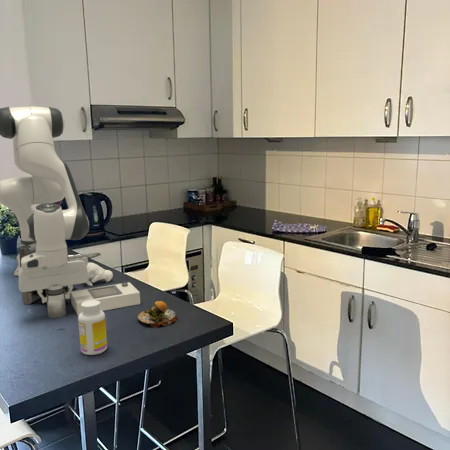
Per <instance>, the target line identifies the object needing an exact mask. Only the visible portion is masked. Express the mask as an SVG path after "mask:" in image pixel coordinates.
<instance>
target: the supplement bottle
mask: <svg viewBox="0 0 450 450" xmlns="http://www.w3.org/2000/svg"><path fill="white" fill-rule="evenodd" d="M81 309H82V313H80V314H79V315H77V316H78V317H77V322H78V323H77V324H78V332H79V334H78V335H79V344H80V345H79V346H80V347H79V348H80V351H81V353H82V354H84V355H86V356H87V355H88V356H94V355H95V356H96V355H100V354H102V353H103V352H105V351H106V350H107V349H108V340H107V325H106V324H107V323H106V314H105V312H104V311H102V310H100V302H99V301H97V300H90V301H85V302H83V303H82V304H81Z"/></svg>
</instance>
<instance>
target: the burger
mask: <svg viewBox="0 0 450 450" xmlns="http://www.w3.org/2000/svg"><path fill="white" fill-rule="evenodd" d="M165 298H166V297H164V299H163V300H165ZM163 300H157V301H155V302H154V304H153V305H152V307H151V308H148V309H145V310H142V311H140V312H139V313H138V314H137V316H136V317H137V320H139V321H140V322H141V323H144V324H147V325H150V327H151V328H153V327H154V329H155V327H157V328H160V325H162V326H164V327H168V326H170V325H171V324H172V323H176V322H177V313H176V311H175V310H173V309H171V308H168V304H166V303H165V302H164V301H163Z"/></svg>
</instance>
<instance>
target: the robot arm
mask: <svg viewBox="0 0 450 450" xmlns="http://www.w3.org/2000/svg"><path fill="white" fill-rule="evenodd" d="M64 129H65V119H64V116H63V114H62V111H60V109H59V108H55V107H51V106H49V107H46V106H45V107H44V106H37V105H36V106H33V105H29V106H16V107H15V106H14V107H9V106H5V107H1V108H0V136H1V137H2V138H4V139H10V140H12V144H13V158H14V159H13V161H14V165H15V166H16V167H17V169H19V170H20V171H22V172H23V173H26V174H29V175H30V176H25V177H24V176H21V177H11V178H10V177H9V178H4V179H1V180H0V204H1V205H4V206H5V207H7V208H8V209H9V210H10V211H11V212H12V213H13V214H14V215H15V217H16V219H17V222H18V225H19V229H20V230H19V231H20V236H21V237H20V249H21V248H23V246H28V245H31V244H34V243H36V242H37V245H36V252H35V253H32V254H30V255H27V256H25V257H23V258H22V259H21V265H22V267H21V268H20V257H19V253H18V254H17V256H16V262H18V263H17V267H16V269H15V271H14V273H13V275H14V276H18V279H17V280H18V281H17V282H18V284H17V285H18V289H19V291H20V292H21V293H22V292H28V291H35V290H37V293H38V294H39V295H40V297H41V298H40V299H41V302H42V303H41V304H45V303H46V304H47V302H48V301H47V296H43V294H42V292H43V291H42V289H48V288H49V286H53V285H62V286H64V287H68V290H67V292H65V293H64V294H65V300H68V299H69V300H71V294H70V293H71V291H72V289H73V287H74V285H81V284H86V282H87V281H88V280H90V278H89V276H88V271H87V267H86V266H87V265H88V263H89V260H88V258H89V257H87V255H85V254H83V253H78V254H68V245H67V240H74V241H75V240H76V241H77V240H81V239H83V238H84V237H85V236H86V235H87V234H88V233H89V231H90V221H89V219H88V216H87V213H86V211H85V209H84V207H83V204H82V201H81V199H80V195H79V192H78V189H77V186H76V183H75V180H74V178H73V174H72V172H71V170H70V169H71V168H70V167H69V166H68V163H66V162H65V161H62V160H61V159H60V157H59V156H58V154H57V152H56V149H55V142H54V138H58V137H60V136H61V135H62V134H63V133H64ZM64 198H65V202H66V205H67V209H62V206H61V205H59V204H57V202H61V201H63V200H64ZM34 205H36V206H35V207H34V209H33V208H32V206H34Z"/></svg>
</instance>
